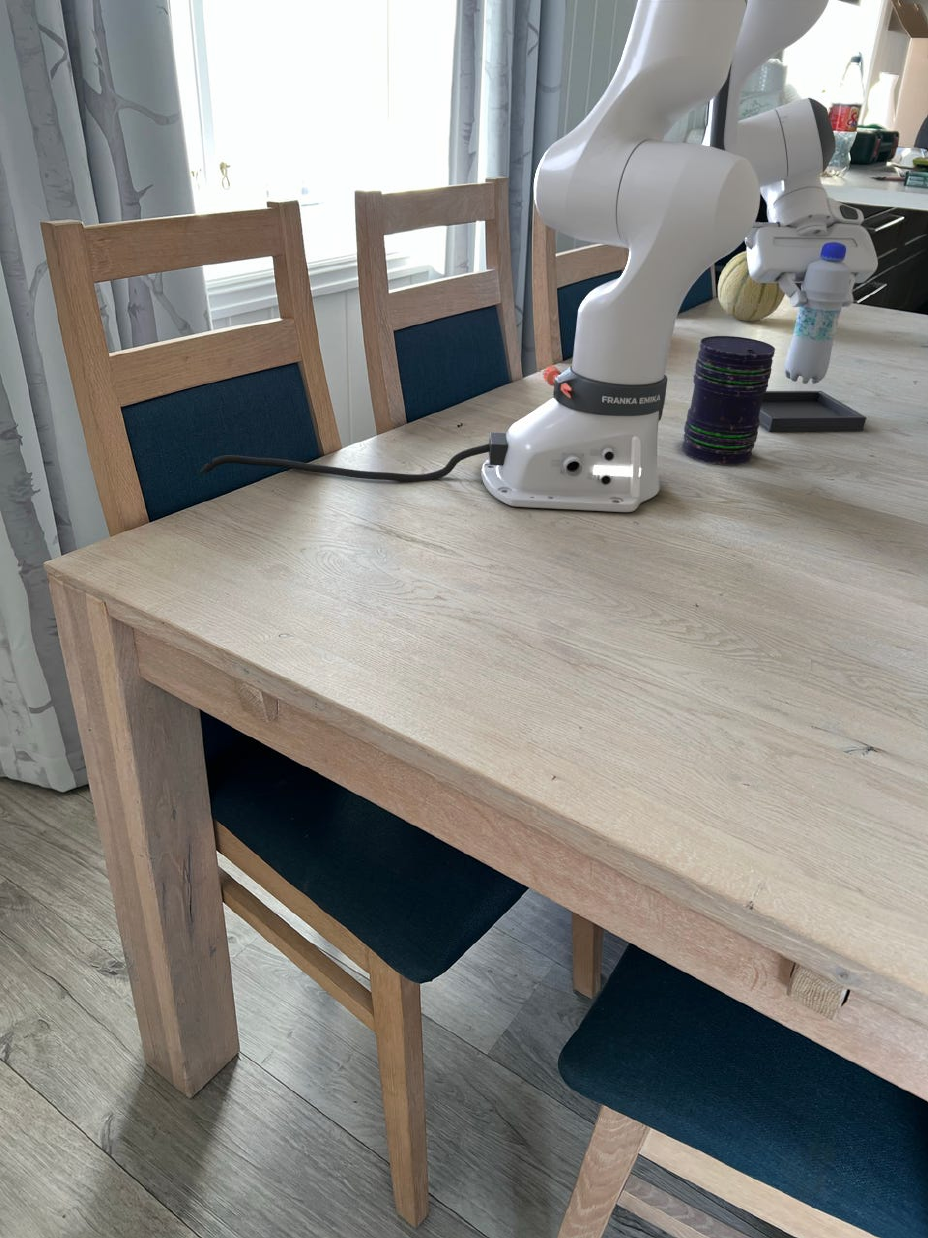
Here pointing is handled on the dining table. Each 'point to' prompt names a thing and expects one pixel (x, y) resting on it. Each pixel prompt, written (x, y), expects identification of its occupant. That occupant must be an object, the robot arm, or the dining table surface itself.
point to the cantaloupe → (746, 292)
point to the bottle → (818, 315)
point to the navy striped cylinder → (727, 399)
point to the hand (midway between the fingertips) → (823, 304)
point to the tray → (807, 412)
